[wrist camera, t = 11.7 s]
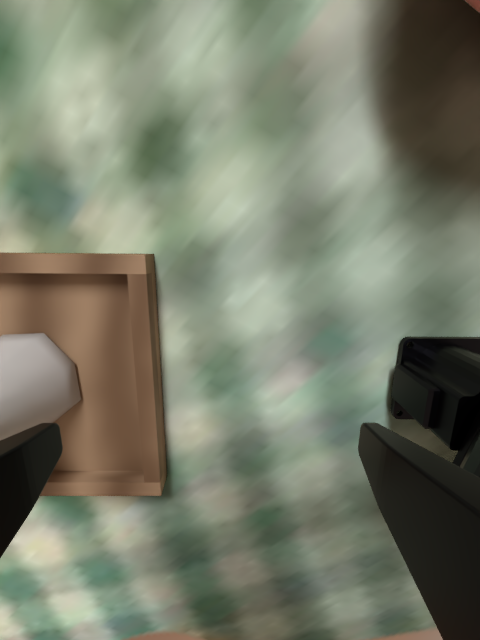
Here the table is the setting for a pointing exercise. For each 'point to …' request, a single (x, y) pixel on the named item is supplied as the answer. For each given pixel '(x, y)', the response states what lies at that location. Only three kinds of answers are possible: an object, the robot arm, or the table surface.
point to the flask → (34, 382)
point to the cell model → (474, 4)
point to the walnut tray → (97, 364)
